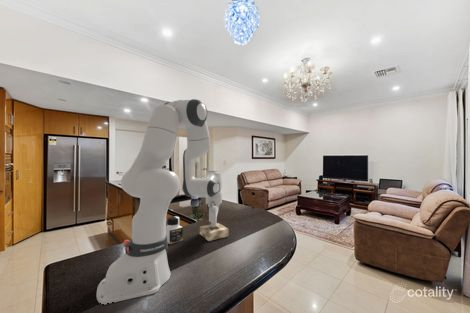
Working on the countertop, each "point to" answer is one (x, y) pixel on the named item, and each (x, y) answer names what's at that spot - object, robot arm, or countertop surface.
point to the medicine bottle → (174, 230)
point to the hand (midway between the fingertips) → (213, 224)
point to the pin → (215, 225)
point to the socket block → (214, 232)
